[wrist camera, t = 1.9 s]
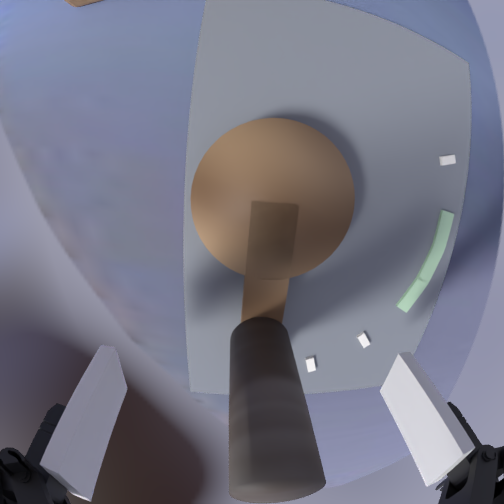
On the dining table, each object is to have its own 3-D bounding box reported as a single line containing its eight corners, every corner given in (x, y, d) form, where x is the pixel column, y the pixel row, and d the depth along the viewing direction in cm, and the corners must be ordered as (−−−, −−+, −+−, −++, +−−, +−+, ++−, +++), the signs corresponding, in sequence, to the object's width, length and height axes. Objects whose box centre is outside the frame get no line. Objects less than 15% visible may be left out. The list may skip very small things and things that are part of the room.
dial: (199, 115, 11) (101, 29, 2) (354, 133, 11) (528, 132, 3) (196, 382, 16) (181, 514, 7) (304, 384, 16) (336, 508, 8)
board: (210, 0, 10) (208, -15, 8) (454, 66, 11) (470, 62, 9) (192, 376, 18) (190, 393, 16) (391, 370, 19) (400, 384, 18)
